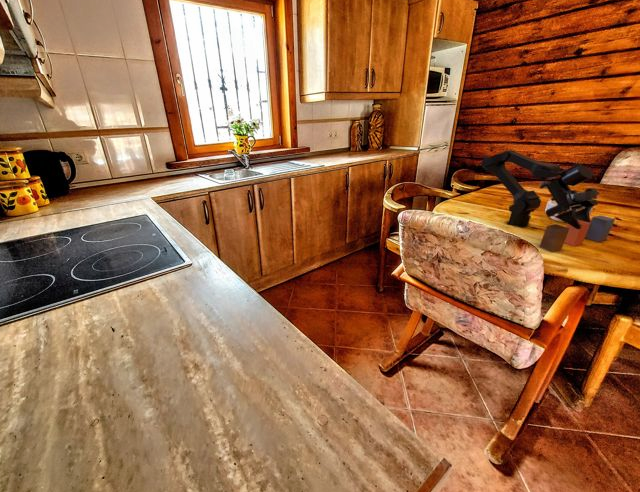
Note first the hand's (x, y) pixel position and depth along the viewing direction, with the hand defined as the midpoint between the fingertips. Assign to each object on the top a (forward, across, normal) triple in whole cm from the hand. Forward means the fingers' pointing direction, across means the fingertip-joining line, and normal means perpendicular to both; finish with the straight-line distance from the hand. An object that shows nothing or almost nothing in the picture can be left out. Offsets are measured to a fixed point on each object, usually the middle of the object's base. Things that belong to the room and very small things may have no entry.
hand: (584, 227), depth 104 cm
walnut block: (+4, -12, +6) cm, 14 cm away
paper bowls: (-9, +24, +19) cm, 32 cm away
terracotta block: (+4, 0, +7) cm, 8 cm away
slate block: (+4, +12, +6) cm, 14 cm away
